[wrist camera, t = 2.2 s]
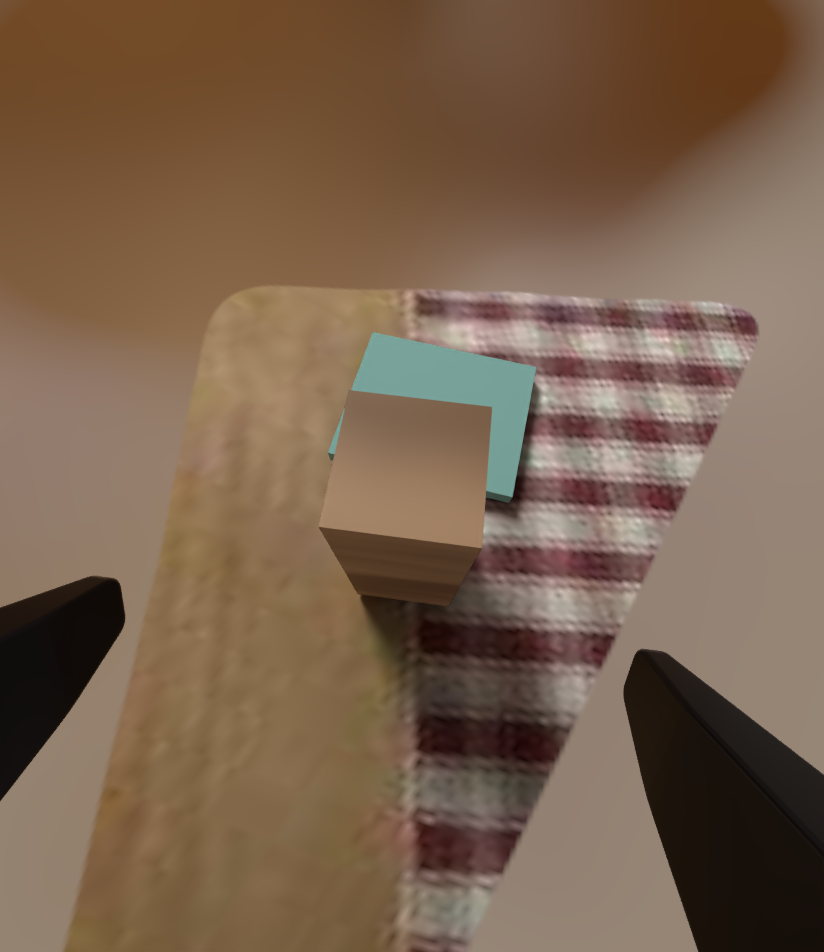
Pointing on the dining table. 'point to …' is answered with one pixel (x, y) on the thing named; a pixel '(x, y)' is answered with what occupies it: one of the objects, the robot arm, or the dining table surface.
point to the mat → (455, 394)
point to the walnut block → (408, 495)
